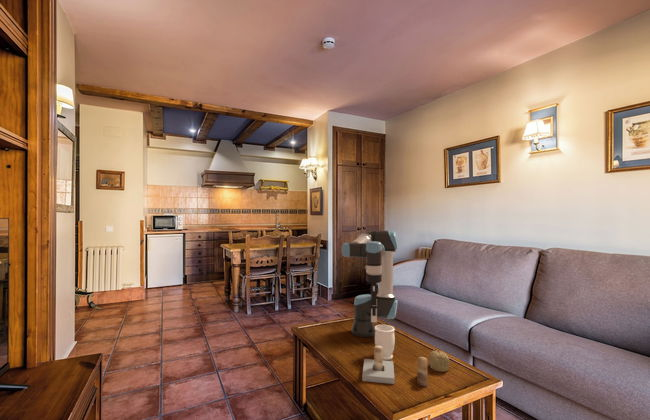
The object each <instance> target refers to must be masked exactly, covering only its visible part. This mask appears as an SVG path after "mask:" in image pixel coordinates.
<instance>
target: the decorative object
mask: <svg viewBox="0 0 650 420" xmlns="http://www.w3.org/2000/svg"><path fill="white" fill-rule="evenodd" d="M428 361H429V367H430V369H432V370H433V371H436V372H443V373H445V372H447V371H449V369H450V358H449V356H448V355H447V353H445V352H444V351H441V350H440V351H439V350H432V351H430V353H429V360H428Z"/></svg>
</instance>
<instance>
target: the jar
mask: <svg viewBox="0 0 650 420" xmlns="http://www.w3.org/2000/svg"><path fill="white" fill-rule="evenodd" d="M374 326H375V330H376V332H375V335H374V344H375V346H381V347H383V360H384V361H391V360H392V359H393V357H394V355H393V352H394V350H395V345H396V343H395V342H396V339H395V338H396V337H395V331H396V329H395V327H394V326H392V325H389V324H377V325H374Z"/></svg>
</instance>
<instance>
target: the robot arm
mask: <svg viewBox="0 0 650 420" xmlns="http://www.w3.org/2000/svg"><path fill="white" fill-rule="evenodd" d="M398 249H399V243H398V236H397V232H396V231H394V230H368V231H365V232H362V233H360V234H359V235H358V236H356V239H354V240H353V241H351V242H343V243H342V245H341V255H342V256H343V257H345V258H362V259H363V258H365V262H366V263H365V266H364V269H365V272H366V275H365V277H366V278H365V280H366V282H367V283H370V284H369V290H370V292H369V293H370V294H369V293H367V294H365V293H364V294H359V295H357V296H355V298H354V303H353V305H354V306H353V307H354V308H353V309H354V310H353V313H354V314H353V315H354V316H353V318H354V319H353V323H352V326H351V334H352V335H354V336H355V337H360V338H370V337H375V332H376V330H375V326H376V325H375V324H374V323H378V319H386V320H394V319H395V318H396V315H397V309H398V302H399V300H398V299H396V296H395V294H394V290H393V289H394V280H393V279H394V254H395V253H396V250H398Z"/></svg>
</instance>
